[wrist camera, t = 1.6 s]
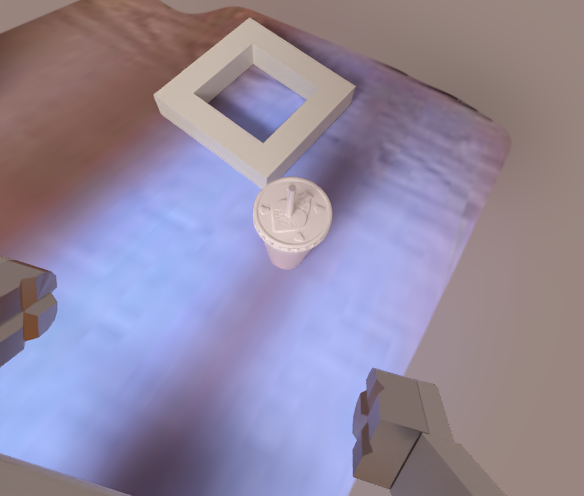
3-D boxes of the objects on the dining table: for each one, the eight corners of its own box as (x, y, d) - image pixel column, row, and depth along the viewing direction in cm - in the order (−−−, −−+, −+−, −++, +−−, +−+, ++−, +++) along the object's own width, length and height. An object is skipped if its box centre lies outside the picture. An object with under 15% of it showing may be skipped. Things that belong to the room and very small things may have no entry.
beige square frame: (160, 113, 43) (153, 94, 41) (250, 39, 48) (249, 17, 46) (266, 192, 41) (266, 178, 38) (350, 104, 46) (355, 86, 43)
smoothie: (242, 255, 38) (230, 185, 25) (282, 212, 40) (291, 127, 27) (291, 295, 37) (305, 244, 24) (329, 249, 39) (362, 178, 26)
